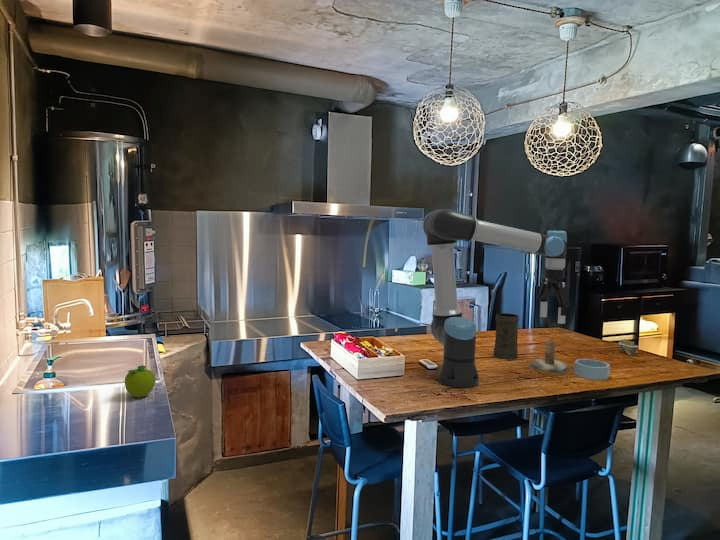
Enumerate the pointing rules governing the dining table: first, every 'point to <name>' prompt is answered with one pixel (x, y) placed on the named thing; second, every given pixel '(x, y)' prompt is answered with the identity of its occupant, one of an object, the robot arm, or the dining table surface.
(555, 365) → the lid
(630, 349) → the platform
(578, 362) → the bowl
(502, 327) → the beer stein
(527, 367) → the mat
